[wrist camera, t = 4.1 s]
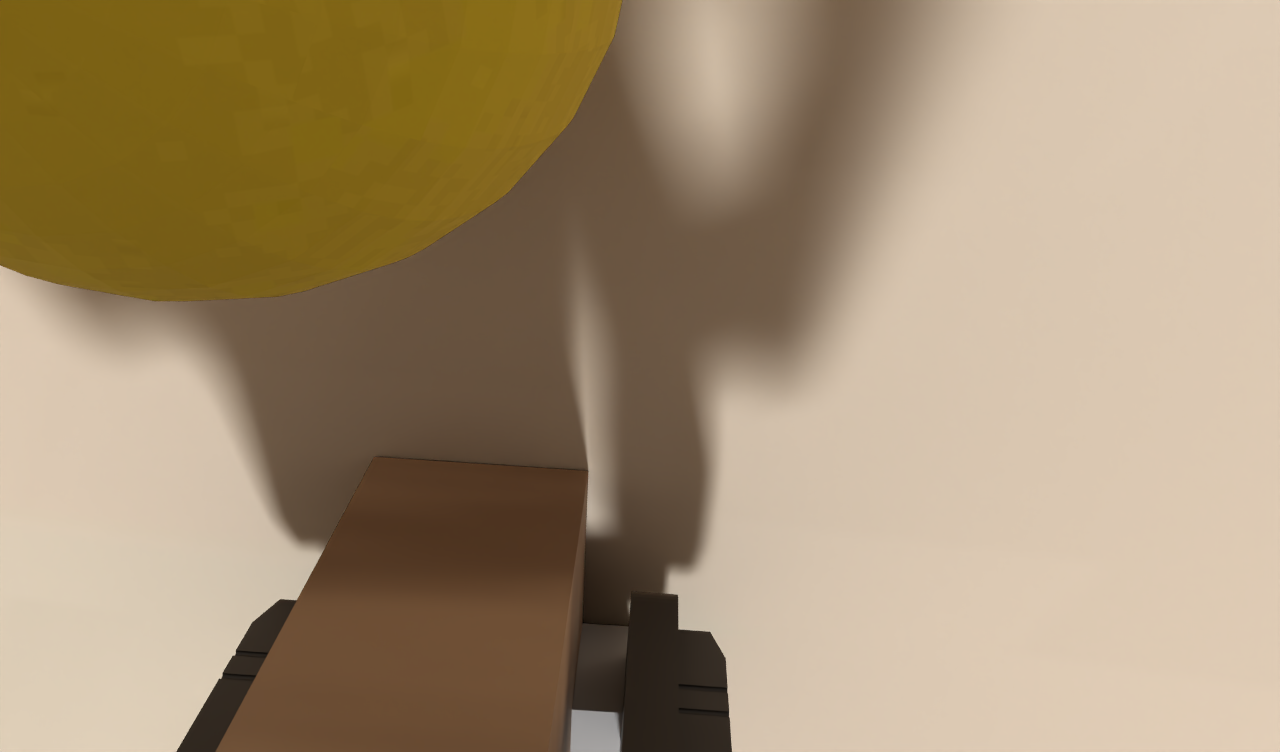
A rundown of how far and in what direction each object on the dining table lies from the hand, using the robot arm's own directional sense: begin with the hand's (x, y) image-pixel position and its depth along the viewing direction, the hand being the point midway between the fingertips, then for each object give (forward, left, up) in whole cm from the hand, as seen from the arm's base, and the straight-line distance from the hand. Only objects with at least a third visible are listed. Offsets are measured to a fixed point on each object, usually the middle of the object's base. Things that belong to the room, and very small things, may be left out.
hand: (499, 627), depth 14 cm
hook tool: (+3, -1, -1) cm, 4 cm away
